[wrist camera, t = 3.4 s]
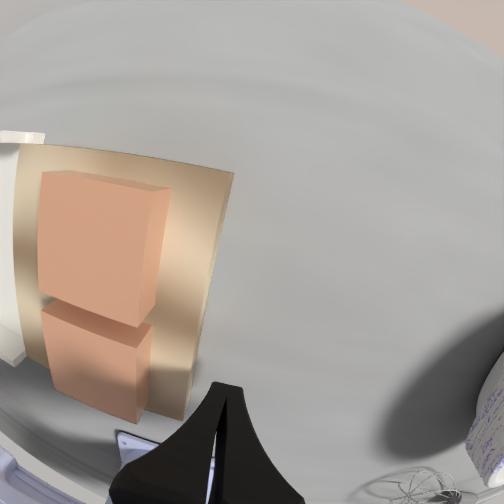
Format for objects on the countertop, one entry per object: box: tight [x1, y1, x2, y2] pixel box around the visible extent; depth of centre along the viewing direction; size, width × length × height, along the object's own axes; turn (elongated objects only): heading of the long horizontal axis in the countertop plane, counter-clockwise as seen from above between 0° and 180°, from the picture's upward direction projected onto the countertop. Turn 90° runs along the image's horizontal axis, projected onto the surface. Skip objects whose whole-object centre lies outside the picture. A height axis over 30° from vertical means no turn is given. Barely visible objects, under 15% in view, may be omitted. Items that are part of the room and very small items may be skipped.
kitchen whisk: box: [390, 471, 478, 504], centre depth 18 cm, size 6×34×6 cm, turn 48°
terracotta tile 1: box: [41, 299, 153, 424], centre depth 12 cm, size 5×5×2 cm
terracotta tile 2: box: [37, 170, 172, 328], centre depth 10 cm, size 5×5×2 cm
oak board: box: [13, 143, 234, 421], centre depth 13 cm, size 13×11×2 cm
